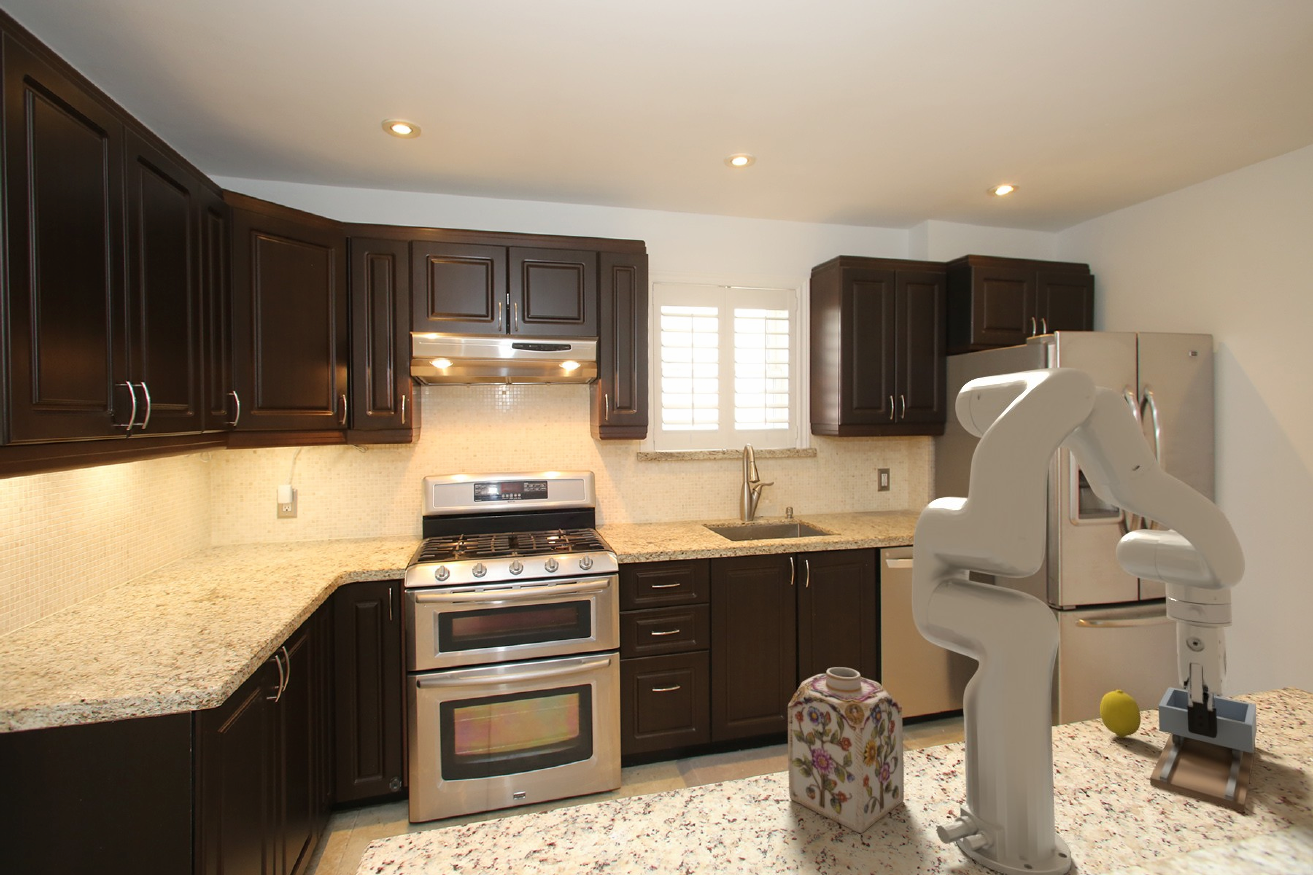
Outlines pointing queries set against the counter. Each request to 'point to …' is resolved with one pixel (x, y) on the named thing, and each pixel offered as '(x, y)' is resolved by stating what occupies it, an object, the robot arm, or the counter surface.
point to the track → (1204, 772)
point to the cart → (1231, 721)
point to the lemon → (1120, 713)
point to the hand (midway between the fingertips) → (1202, 733)
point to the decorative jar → (845, 748)
